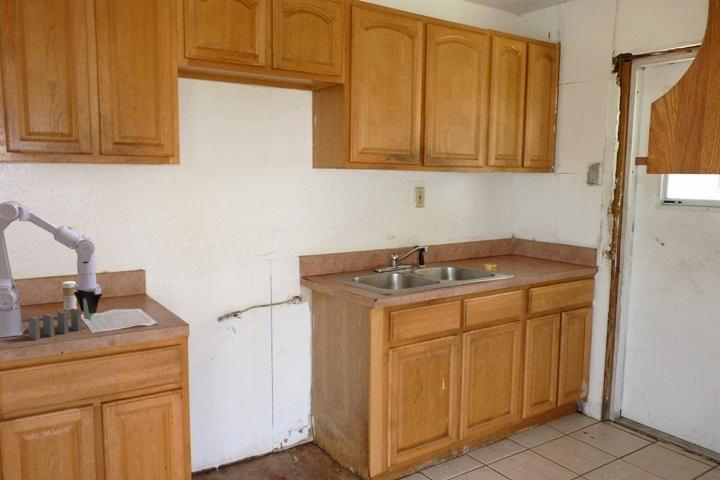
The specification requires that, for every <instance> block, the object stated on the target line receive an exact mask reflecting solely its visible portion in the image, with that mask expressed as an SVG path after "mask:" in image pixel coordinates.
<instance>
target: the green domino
mask: <svg viewBox="0 0 720 480" xmlns="http://www.w3.org/2000/svg"><path fill="white" fill-rule="evenodd" d="M83 308H84V312H83V318H84V319H85V320H87V321H88V320H89V321H94V320H95V313H93V314H89V311H88V305H87V301H86V299H85V298H84V299H83Z"/></svg>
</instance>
